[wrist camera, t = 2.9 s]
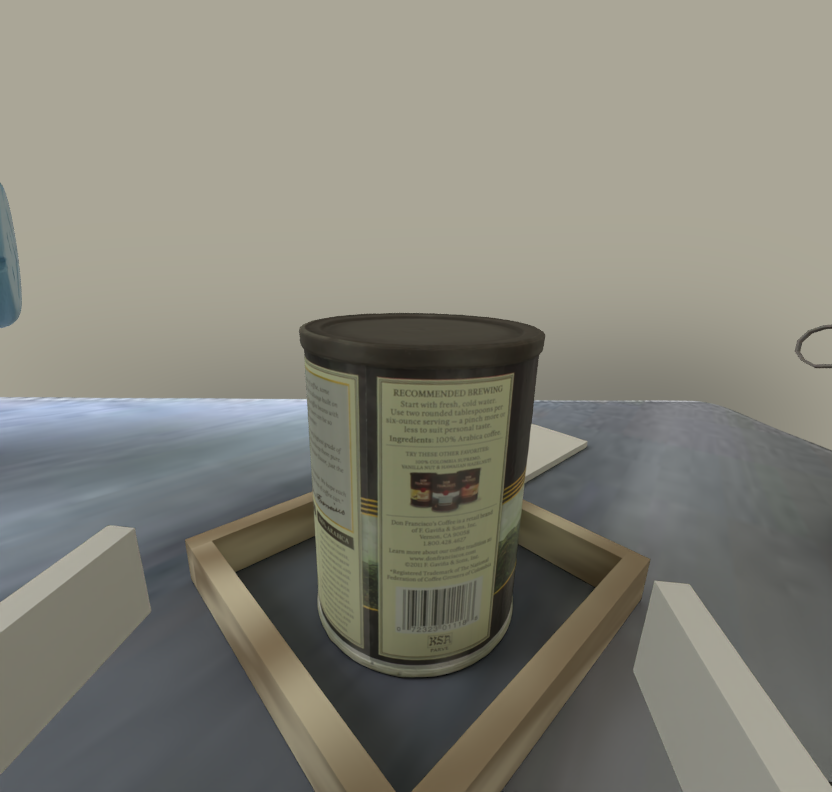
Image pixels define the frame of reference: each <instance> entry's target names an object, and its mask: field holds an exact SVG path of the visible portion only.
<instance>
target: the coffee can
mask: <svg viewBox="0 0 832 792" xmlns="http://www.w3.org/2000/svg"><path fill="white" fill-rule="evenodd" d="M299 333H300V343H301V345H302V347H303V348H304V353H305V357H304V358H305V374H306V390H307V406H308V422H309V439H310V455H311V472H312V488H313V504H314V521H315V538H316V555H317V573H318V598H317V599H318V611H319V616H320V619H321V622H322V625H323V627H324V629H325V630H326V632H327V634H328V636H329V638H330V640H331V641H332V642H333V643H335V644H336V645H337V646H338V647H339V648H340V649H341V650H342V651H343V652H344V653H345V654H346V655H348V656H349V657H350V658H352V659H353V660H354V661H356V662H358V663H359V664H361V665H363V666H366V667H368V668H370V669H372V670H375V671H378V672H381V673H385V674H389V675H393V676H398V677H402V678H403V677H433V676H439V675H445V674H449V673H452V672H455V671H458V670H461V669H463V668H466V667H468V666H470V665H472V664H474V663H476V662H477V661H478V660H480V659H481V658H483V657H485V656H486V655H488V654H489V653H490V652H491V651H492V650H493V648H494V647H495V646H496V645H497V644H498V643H499V642H500V641H501V639H502V638H503V636H504V634H505V633H506V631H507V629H508V627H509V624H510V621H511V616H512V610H513V596H512V594H513V585H514V575H515V567H516V556H517V548H518V540H519V530H520V521H521V511H522V501H523V492H524V483H525V474H526V466H527V458H528V450H529V441H530V430H531V423H532V414H533V403H534V394H535V384H536V375H537V367H538V359H539V354H540V353H541V352H542V350H543V346H544V340H545V334H544V332H543V331H541V330H539V329H537V328H536V327H534V326H531V325H528V324H524V323H519V322H514V321H510V320H503V319H496V318H489V317H477V316H465V315H449V314H423V313H386V314H359V315H346V316H336V317H329V318H324V319H319V320H314V321H311V322H308V323H306V324H304V325H302V326H301V327H300V329H299Z"/></svg>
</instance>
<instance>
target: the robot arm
mask: <svg viewBox="0 0 832 792" xmlns="http://www.w3.org/2000/svg"><path fill="white" fill-rule="evenodd" d="M21 306H22V297H21V279H20V269H19V260H18V253H17V246H16V239H15V233H14V227H13V222H12V217H11V212H10V208H9V203H8V200H7V197H6V193H5V191H4V188H3V186H2V185H1V183H0V328H3V327H6V326H9V325H11V324H13V323H14V322H15V321H16V320H17V319H18V317H19V315H20V312H21ZM150 612H151V607H150V602H149V597H148V592H147V587H146V582H145V577H144V572H143V567H142V562H141V557H140V552H139V547H138V542H137V537H136V532H135V528H130V527H120V526H110V525H108V526H107V527H105V528H104V529H102V530H101V531H100V532H98V533H97V534H95V535H94V536H93V537H91V538H90V539H88V540H87V541H86V542H84V543H83V544H81V545H80V546H79V547H77V548H76V549H74V550H73V551H72V552H70V553H69V554H67V555H66V556H65V557H63V558H62V559H60V560H59V561H58V562H56V563H55V564H53V565H52V566H51V567H49V568H48V569H46V570H45V571H44V572H42V573H41V574H39V575H38V576H37V577H35V578H34V579H32V580H31V581H30V582H28V583H27V584H25V585H24V586H23V587H21V588H20V589H18V590H17V591H16V592H14V593H13V594H11V595H10V596H9V597H7V598H6V599H4V600H3V601H2V602H0V775H1V774H2V773H3V771H4V770H5V769H6V768H7V767H8V766H9V765H10V764H11V763H12V762H13V761H14V760H15V758H16V757H17V756H18V755H19V754H20V753H21V752H22V751H23V750H24V749H25V748H26V746H27V745H28V744H29V743H30V742H31V741H32V740H33V739H34V738H35V737H36V736H37V735H38V733H39V732H40V731H41V730H42V729H43V728H44V727H45V726H46V725H47V724H48V723H49V722H50V720H51V719H52V718H53V717H54V716H55V715H56V714H57V713H58V712H59V711H60V710H61V709H62V707H63V706H64V705H65V704H66V703H67V702H68V701H69V700H70V699H71V698H72V697H73V696H74V694H75V693H76V692H77V691H78V690H79V689H80V688H81V687H82V686H83V685H84V684H85V683H86V681H87V680H88V679H89V678H90V677H91V676H92V675H93V674H94V673H95V672H96V671H97V670H98V668H99V667H100V666H101V665H102V664H103V663H104V662H105V661H106V660H107V659H108V658H109V657H110V655H111V654H112V653H113V652H114V651H115V650H116V649H117V648H118V647H119V646H120V645H121V644H122V642H123V641H124V640H125V639H126V638H127V637H128V636H129V635H130V634H131V633H132V632H133V631H134V629H135V628H136V627H137V626H138V625H139V624H140V623H141V622H142V621H143V620H144V619H145V618H146V616H147V615H148V614H149V613H150ZM633 672H634V674H635V677H636V679H637V682H638V684H639V686H640V689H641V691H642V694H643V696H644V699H645V701H646V703H647V706H648V708H649V711H650V713H651V716H652V718H653V720H654V723H655V725H656V728H657V730H658V733H659V735H660V737H661V740H662V742H663V745H664V747H665V750H666V752H667V754H668V757H669V759H670V762H671V764H672V767H673V769H674V771H675V774H676V776H677V779H678V781H679V784H680V786H681V788H682V791H683V792H832V782H828V781H827V779H826V778H825V776H824V775H823V774H822V772H821V771H820V769H819V768H818V767H817V765H816V764H815V762H814V761H813V759H812V758H811V757H810V755H809V754H808V752H807V751H806V749H805V748H804V747H803V745H802V744H801V742H800V741H799V739H798V738H797V737H796V735H795V734H794V732H793V731H792V730H791V728H790V727H789V725H788V724H787V722H786V721H785V720H784V718H783V717H782V715H781V714H780V712H779V711H778V710H777V708H776V707H775V705H774V704H773V702H772V701H771V700H770V698H769V697H768V695H767V694H766V693H765V691H764V690H763V688H762V687H761V685H760V684H759V683H758V681H757V680H756V678H755V677H754V675H753V674H752V673H751V671H750V670H749V668H748V667H747V665H746V664H745V663H744V661H743V660H742V658H741V657H740V656H739V654H738V653H737V651H736V650H735V648H734V647H733V646H732V644H731V643H730V641H729V640H728V638H727V637H726V636H725V634H724V633H723V631H722V630H721V628H720V627H719V626H718V624H717V623H716V621H715V620H714V619H713V617H712V616H711V614H710V613H709V611H708V610H707V609H706V607H705V606H704V604H703V603H702V601H701V600H700V599H699V597H698V596H697V594H696V593H695V591H694V590H693V589H692V587H691V586H690V584H682V583H673V582H663V581H654V585H653V589H652V593H651V597H650V602H649V606H648V610H647V614H646V618H645V622H644V627H643V631H642V635H641V639H640V643H639V648H638V652H637V656H636V660H635V664H634V669H633Z"/></svg>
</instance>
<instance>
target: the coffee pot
mask: <svg viewBox="0 0 832 792" xmlns="http://www.w3.org/2000/svg"><path fill="white" fill-rule="evenodd" d="M824 329H832V325H823V326H820V327H817V328H814V329H811V330H808V331H807V332H806V333H805V334H804V335H803V336H802V337H801V338H800V339H799V340H798V341H797V344H796V348H795V352H796V354H797V355H798V357H799V358H800V360H801V361H803V362H805V363H807V364H809V365H811V366H813V367H815V368H832V364H824V365H823V364H822V365H814V364H812V363H810V362H809V361H807V360H805V359H804V357H803V356H802V354H801V353H800V349H801V345H802V342H803V341H804V340H805V339H806V338H808V337H809V336H810V335H811V334H812V333H814V332H818V331H821V330H824Z"/></svg>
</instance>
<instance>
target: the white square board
mask: <svg viewBox="0 0 832 792" xmlns="http://www.w3.org/2000/svg"><path fill="white" fill-rule="evenodd" d="M586 447H587V441H584V440H581V439H578V438H575V437H572V436H569V435H566V434H562V433H559V432H556V431H553V430H550V429H547V428H544V427H540V426H537V425H534V424H531V430H530V441H529V450H528V458H527V466H526V474H525V483H526V482H528V481H529V480H531V479H533V478H534V477H536V476H538V475H540V474H541V473H543V472H545V471H546V470H548V469H550V468H552V467H553V466H555V465H557V464H558V463H560V462H562V461H564V460H565V459H567V458H569V457H570V456H572V455H574V454H576V453H577V452H579V451H581V450H582V449H584V448H586Z"/></svg>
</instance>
